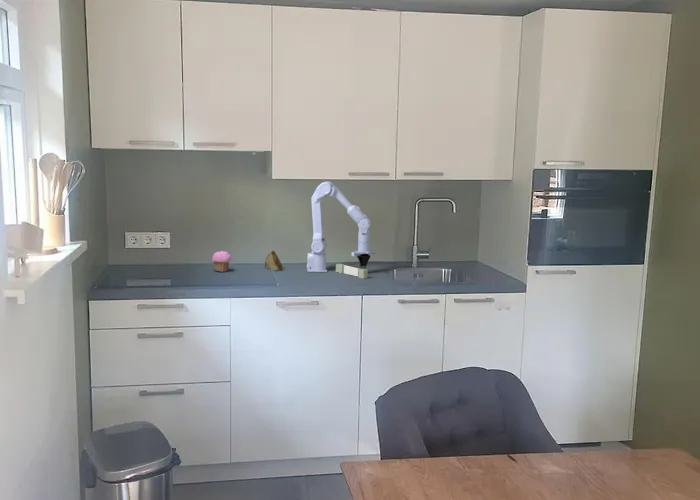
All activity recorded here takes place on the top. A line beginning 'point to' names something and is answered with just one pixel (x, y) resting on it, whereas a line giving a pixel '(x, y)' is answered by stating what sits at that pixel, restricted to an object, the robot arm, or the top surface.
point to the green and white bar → (362, 272)
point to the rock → (273, 262)
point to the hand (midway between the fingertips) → (363, 269)
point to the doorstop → (358, 266)
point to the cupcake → (221, 261)
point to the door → (351, 270)
